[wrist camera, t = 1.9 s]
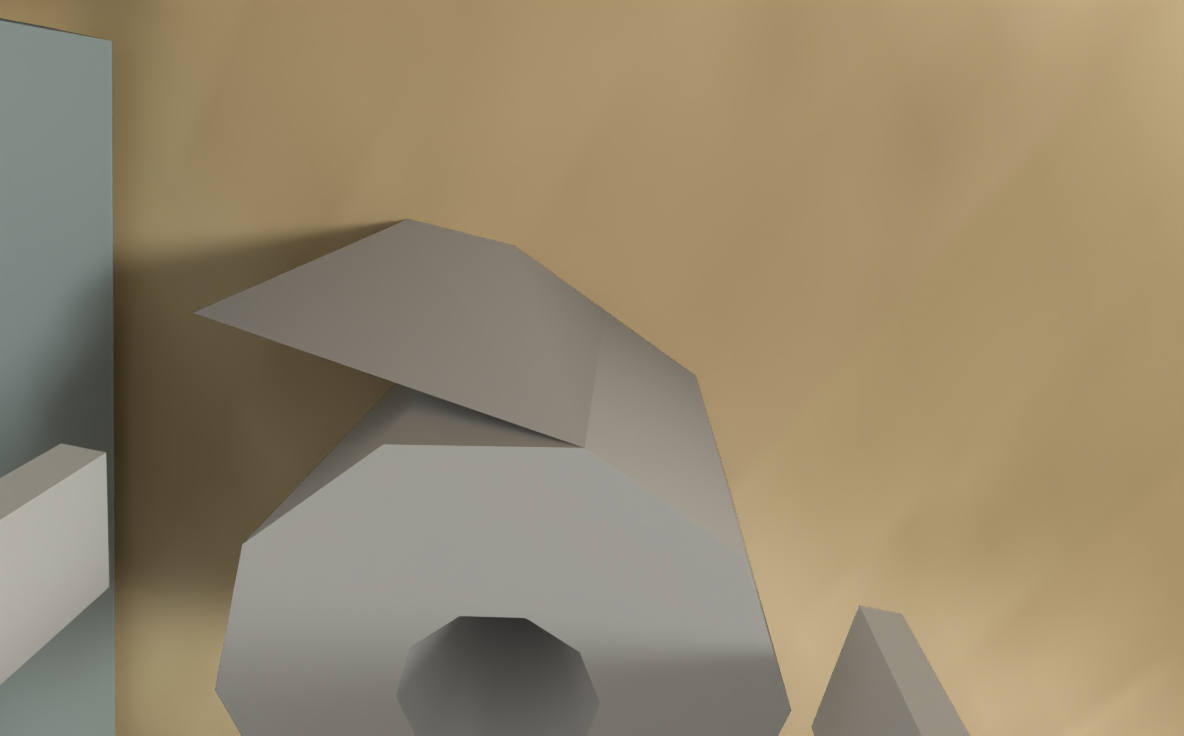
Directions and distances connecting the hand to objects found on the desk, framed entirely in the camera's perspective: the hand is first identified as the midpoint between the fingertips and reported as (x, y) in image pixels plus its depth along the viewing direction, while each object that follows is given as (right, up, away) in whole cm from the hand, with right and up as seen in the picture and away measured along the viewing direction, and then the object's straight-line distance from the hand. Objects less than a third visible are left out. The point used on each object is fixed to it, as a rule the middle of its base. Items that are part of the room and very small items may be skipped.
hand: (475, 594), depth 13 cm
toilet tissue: (0, +2, +7) cm, 8 cm away
